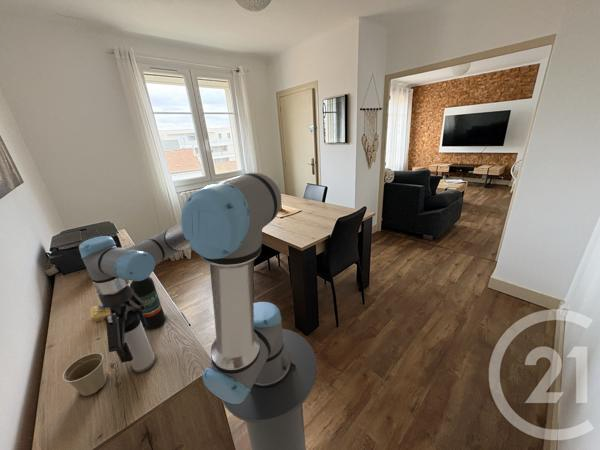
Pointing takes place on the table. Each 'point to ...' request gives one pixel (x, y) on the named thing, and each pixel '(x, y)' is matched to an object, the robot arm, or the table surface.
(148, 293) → the wine bottle
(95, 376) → the flower pot
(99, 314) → the cake
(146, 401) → the table surface
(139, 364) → the travel mug
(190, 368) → the table surface
